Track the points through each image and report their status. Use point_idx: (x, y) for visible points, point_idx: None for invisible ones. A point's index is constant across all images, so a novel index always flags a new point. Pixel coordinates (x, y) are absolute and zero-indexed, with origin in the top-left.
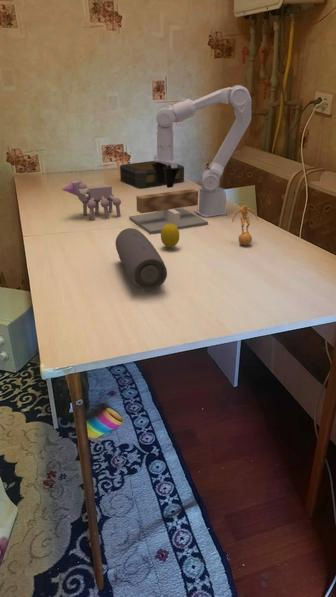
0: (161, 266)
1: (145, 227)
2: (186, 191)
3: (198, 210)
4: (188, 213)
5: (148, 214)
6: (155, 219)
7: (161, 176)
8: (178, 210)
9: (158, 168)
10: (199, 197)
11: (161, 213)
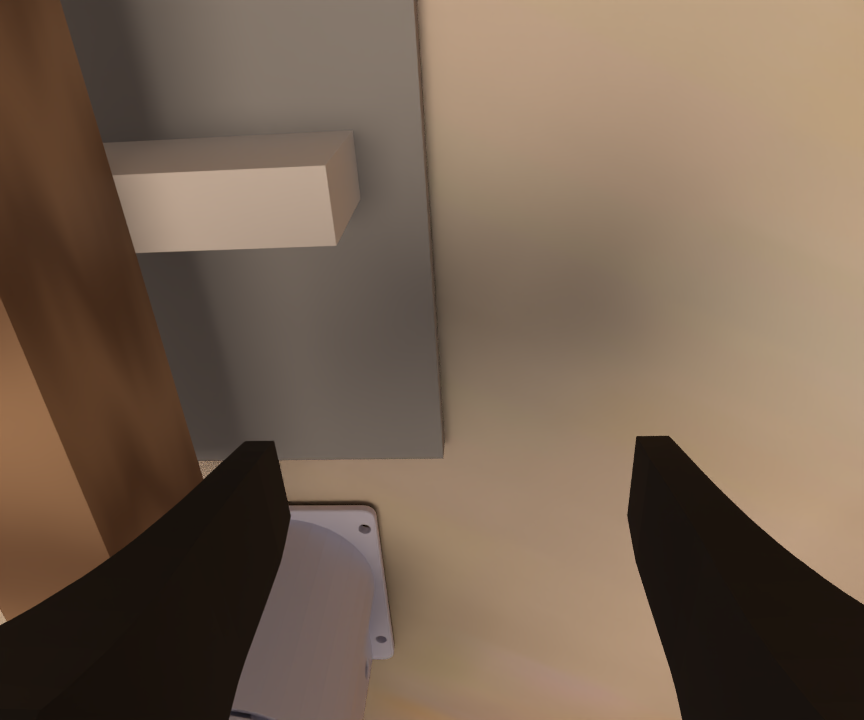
0: None
1: None
2: (34, 569)
3: (361, 539)
4: (269, 433)
5: (378, 18)
6: (142, 22)
7: (661, 577)
8: (397, 397)
9: (743, 703)
10: (280, 637)
11: (204, 147)
